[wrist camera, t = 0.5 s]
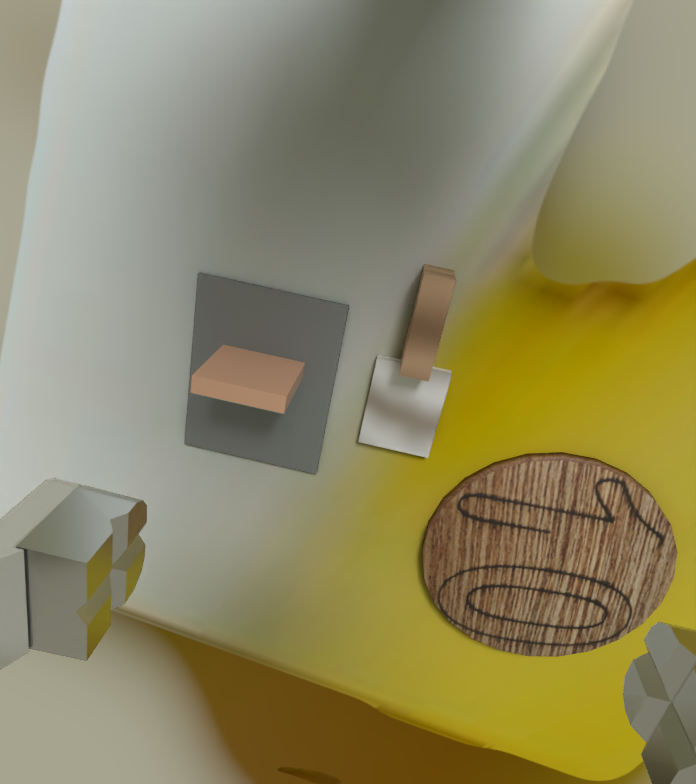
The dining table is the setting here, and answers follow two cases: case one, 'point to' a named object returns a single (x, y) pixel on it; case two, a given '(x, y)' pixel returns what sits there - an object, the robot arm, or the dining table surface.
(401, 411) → the turner
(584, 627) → the trivet
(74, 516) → the robot arm
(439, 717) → the dining table surface
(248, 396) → the tile
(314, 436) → the mat
